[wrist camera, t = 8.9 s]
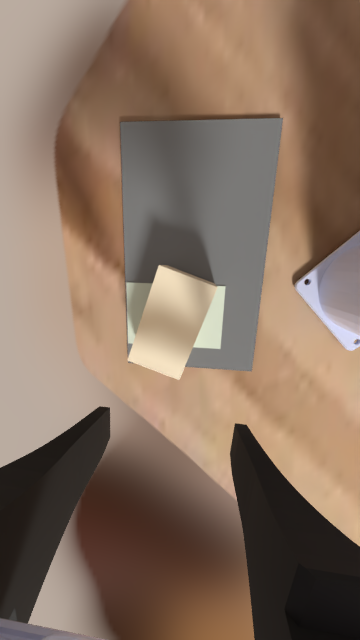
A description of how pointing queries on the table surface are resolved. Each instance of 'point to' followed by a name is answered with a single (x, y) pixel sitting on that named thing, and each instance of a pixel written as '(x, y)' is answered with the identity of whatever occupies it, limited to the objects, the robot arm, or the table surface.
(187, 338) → the beige wooden block
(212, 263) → the mat
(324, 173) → the table surface
